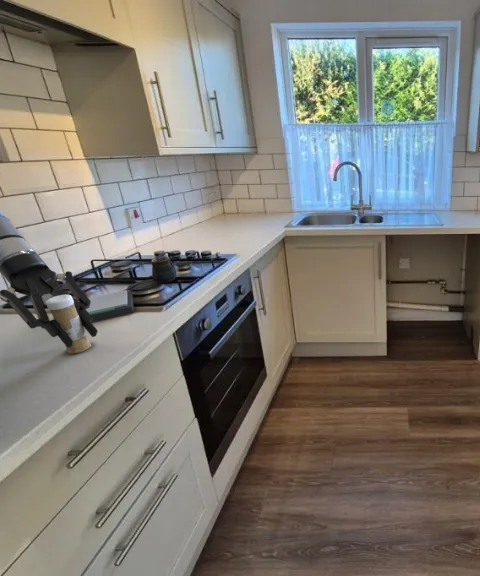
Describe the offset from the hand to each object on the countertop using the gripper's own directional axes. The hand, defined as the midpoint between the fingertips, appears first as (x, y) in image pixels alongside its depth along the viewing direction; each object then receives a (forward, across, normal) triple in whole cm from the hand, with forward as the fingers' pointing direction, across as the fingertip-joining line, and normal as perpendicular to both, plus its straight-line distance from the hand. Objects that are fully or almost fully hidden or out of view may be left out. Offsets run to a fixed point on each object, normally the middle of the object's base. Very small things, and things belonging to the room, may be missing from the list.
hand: (82, 339), depth 83 cm
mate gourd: (-15, -37, -21) cm, 45 cm away
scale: (-12, -14, -17) cm, 26 cm away
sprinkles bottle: (0, 0, -5) cm, 5 cm away
